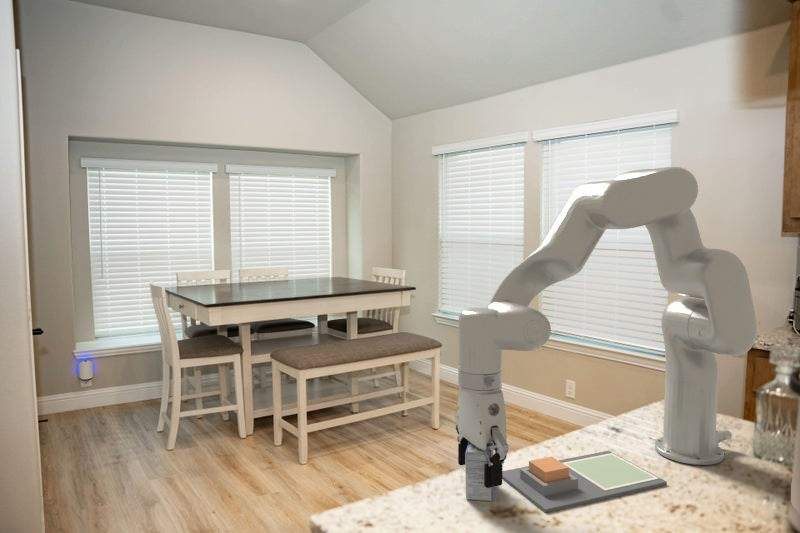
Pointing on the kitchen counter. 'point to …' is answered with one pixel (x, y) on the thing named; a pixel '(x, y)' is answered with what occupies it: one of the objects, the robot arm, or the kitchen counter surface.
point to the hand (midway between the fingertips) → (479, 474)
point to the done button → (548, 469)
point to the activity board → (583, 481)
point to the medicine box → (476, 474)
